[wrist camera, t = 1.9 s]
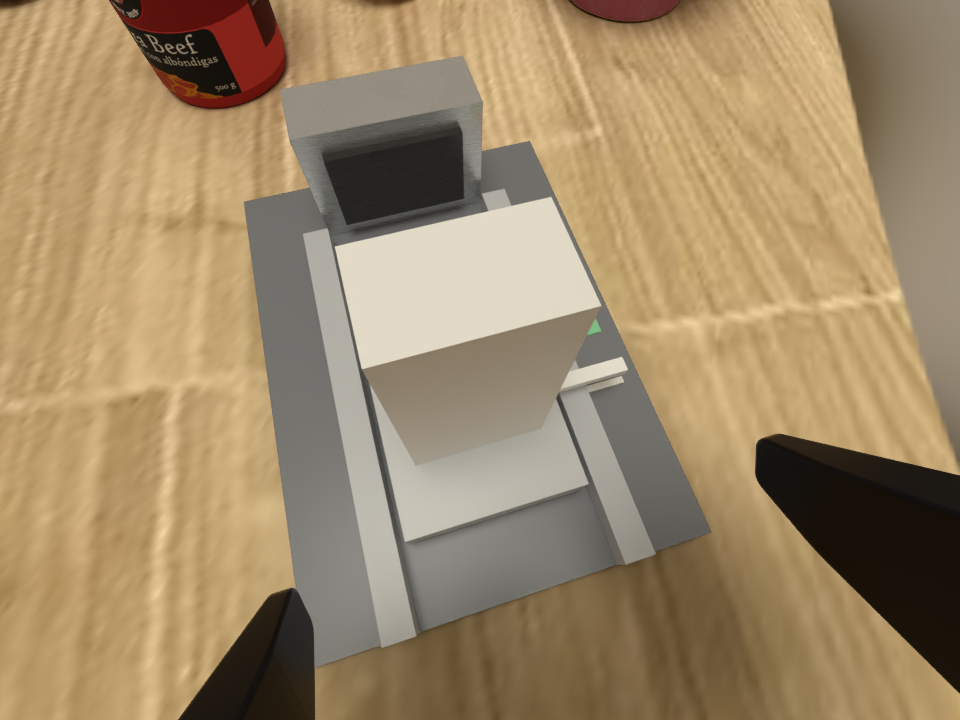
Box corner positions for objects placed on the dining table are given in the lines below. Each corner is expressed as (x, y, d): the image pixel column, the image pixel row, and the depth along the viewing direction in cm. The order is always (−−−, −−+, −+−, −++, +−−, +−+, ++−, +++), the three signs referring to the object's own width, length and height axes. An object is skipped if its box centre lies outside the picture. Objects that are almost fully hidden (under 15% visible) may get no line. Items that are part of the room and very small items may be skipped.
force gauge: (650, 468, 20) (842, 361, 9) (410, 544, 18) (332, 514, 8) (574, 296, 23) (657, 78, 13) (366, 350, 22) (271, 156, 11)
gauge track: (698, 534, 20) (726, 530, 18) (317, 664, 18) (295, 677, 16) (527, 157, 28) (532, 123, 26) (253, 217, 26) (233, 185, 24)
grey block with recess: (482, 208, 25) (485, 107, 20) (332, 242, 24) (290, 147, 19) (464, 161, 27) (462, 55, 21) (321, 192, 26) (279, 89, 20)
